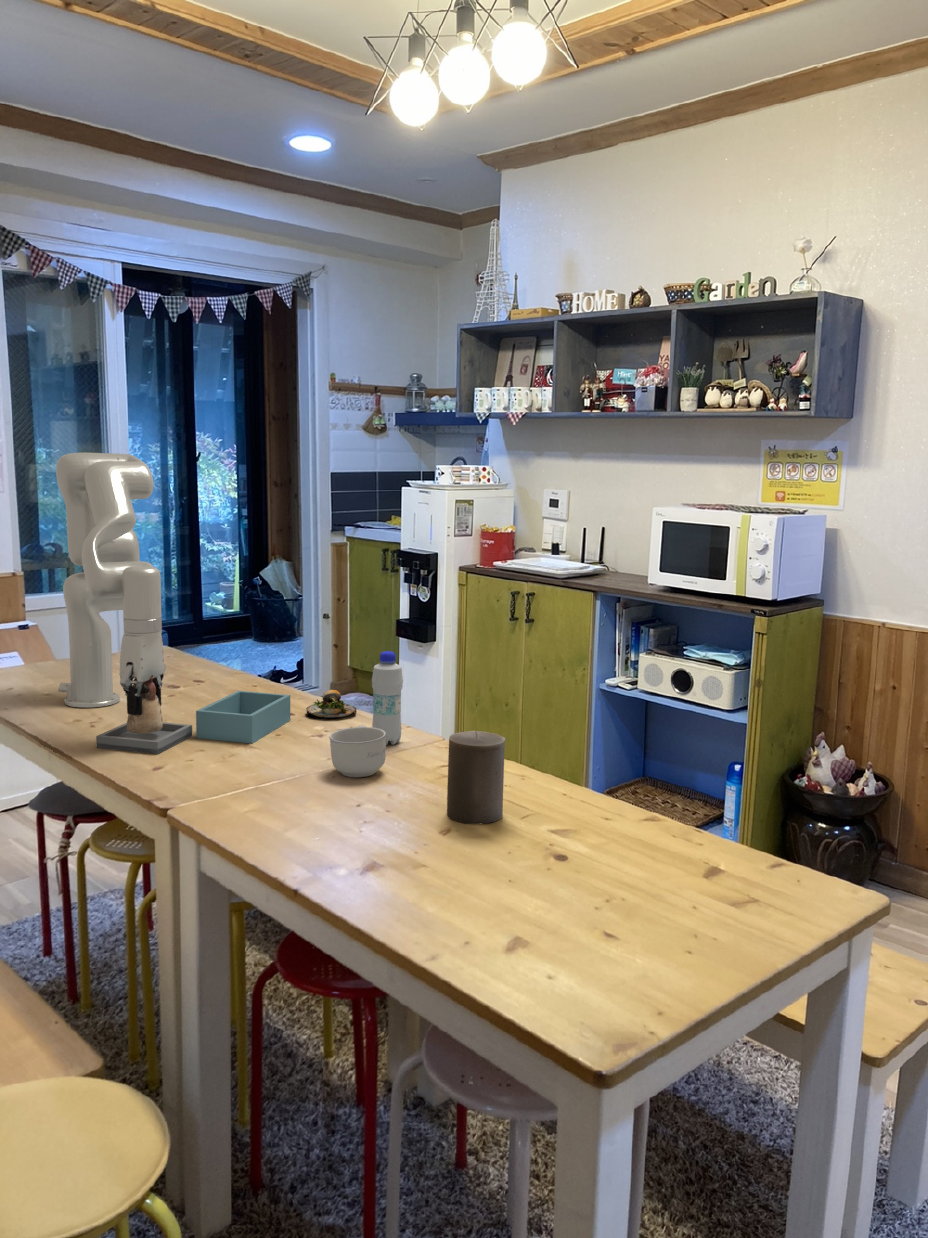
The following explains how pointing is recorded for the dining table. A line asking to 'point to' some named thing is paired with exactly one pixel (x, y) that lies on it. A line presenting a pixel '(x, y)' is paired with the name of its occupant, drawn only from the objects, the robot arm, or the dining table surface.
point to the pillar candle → (475, 777)
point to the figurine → (147, 711)
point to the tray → (144, 738)
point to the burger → (331, 706)
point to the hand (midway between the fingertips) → (144, 709)
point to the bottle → (387, 696)
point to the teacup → (358, 750)
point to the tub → (243, 716)
